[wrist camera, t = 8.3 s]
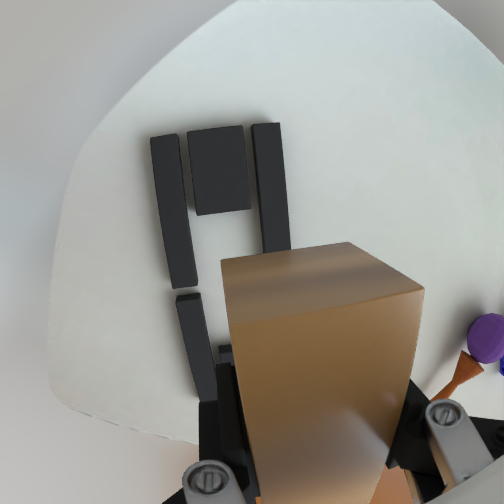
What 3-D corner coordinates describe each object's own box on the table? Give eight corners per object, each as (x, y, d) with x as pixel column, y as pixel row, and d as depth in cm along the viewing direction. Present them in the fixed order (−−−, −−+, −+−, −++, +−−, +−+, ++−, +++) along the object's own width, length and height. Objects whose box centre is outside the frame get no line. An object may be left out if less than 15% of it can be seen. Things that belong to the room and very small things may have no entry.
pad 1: (152, 139, 20) (149, 137, 19) (276, 124, 21) (279, 122, 20) (174, 283, 24) (172, 289, 22) (288, 267, 24) (292, 272, 23)
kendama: (390, 450, 28) (506, 318, 23) (379, 419, 34) (479, 298, 29) (419, 458, 29) (525, 337, 24) (407, 429, 34) (500, 317, 30)
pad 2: (176, 295, 24) (175, 301, 23) (289, 279, 25) (293, 285, 24) (201, 398, 27) (201, 407, 26) (294, 384, 28) (297, 392, 27)
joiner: (220, 258, 9) (228, 325, 5) (348, 241, 9) (425, 286, 6) (254, 464, 12) (268, 534, 8) (337, 446, 12) (366, 509, 8)
